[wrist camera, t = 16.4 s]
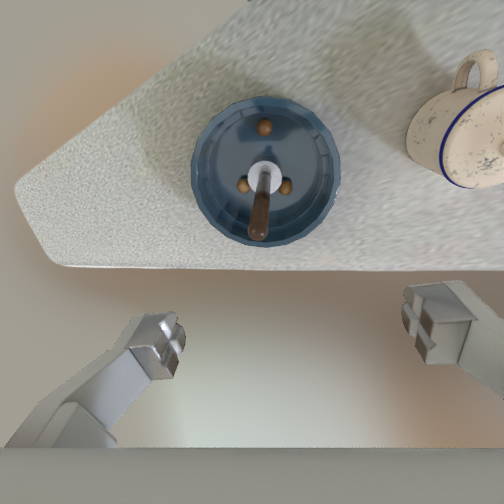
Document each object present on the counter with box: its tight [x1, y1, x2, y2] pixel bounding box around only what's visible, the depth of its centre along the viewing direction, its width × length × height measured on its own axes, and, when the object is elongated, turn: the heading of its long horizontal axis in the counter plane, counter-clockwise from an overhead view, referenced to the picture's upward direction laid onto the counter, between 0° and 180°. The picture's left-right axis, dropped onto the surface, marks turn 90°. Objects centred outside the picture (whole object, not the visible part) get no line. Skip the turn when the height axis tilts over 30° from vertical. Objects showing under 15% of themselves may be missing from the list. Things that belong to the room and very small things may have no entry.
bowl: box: [191, 96, 341, 248], centre depth 32 cm, size 18×18×6 cm
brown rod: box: [248, 156, 282, 241], centre depth 27 cm, size 4×4×18 cm
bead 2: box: [256, 118, 273, 136], centre depth 31 cm, size 2×2×2 cm
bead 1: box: [237, 179, 251, 193], centre depth 35 cm, size 2×2×2 cm
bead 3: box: [278, 180, 293, 195], centre depth 34 cm, size 2×2×2 cm
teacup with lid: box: [406, 49, 504, 189], centre depth 25 cm, size 12×9×12 cm
